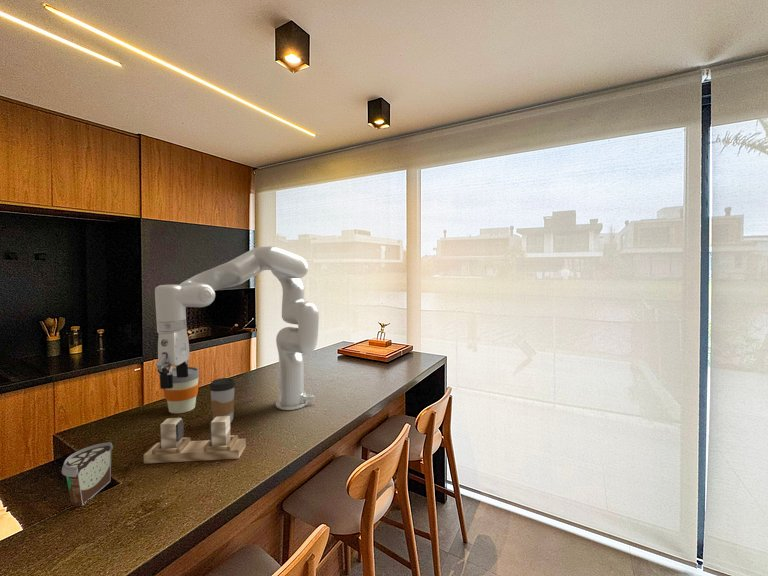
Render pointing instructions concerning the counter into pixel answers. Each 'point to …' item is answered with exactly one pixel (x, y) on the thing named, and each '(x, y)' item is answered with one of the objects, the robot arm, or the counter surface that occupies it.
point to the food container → (88, 472)
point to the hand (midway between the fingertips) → (175, 382)
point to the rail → (201, 446)
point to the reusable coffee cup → (183, 391)
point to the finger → (171, 433)
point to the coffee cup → (222, 397)
